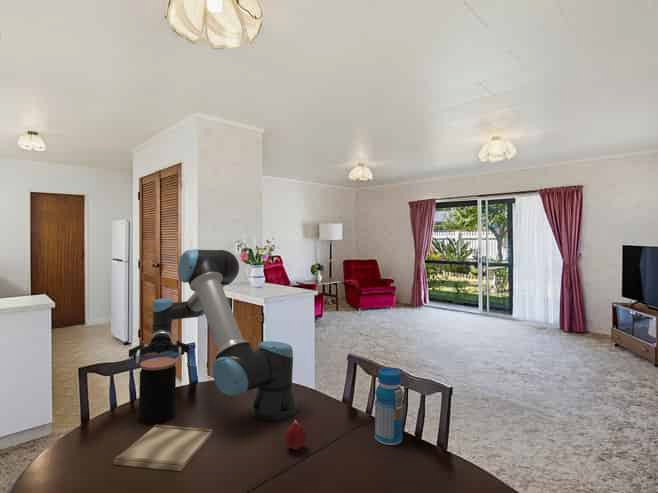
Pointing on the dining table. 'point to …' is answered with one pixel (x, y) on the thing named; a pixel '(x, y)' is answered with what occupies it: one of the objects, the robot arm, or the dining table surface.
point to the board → (165, 448)
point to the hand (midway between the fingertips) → (159, 357)
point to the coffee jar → (157, 390)
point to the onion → (295, 435)
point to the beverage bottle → (389, 407)
